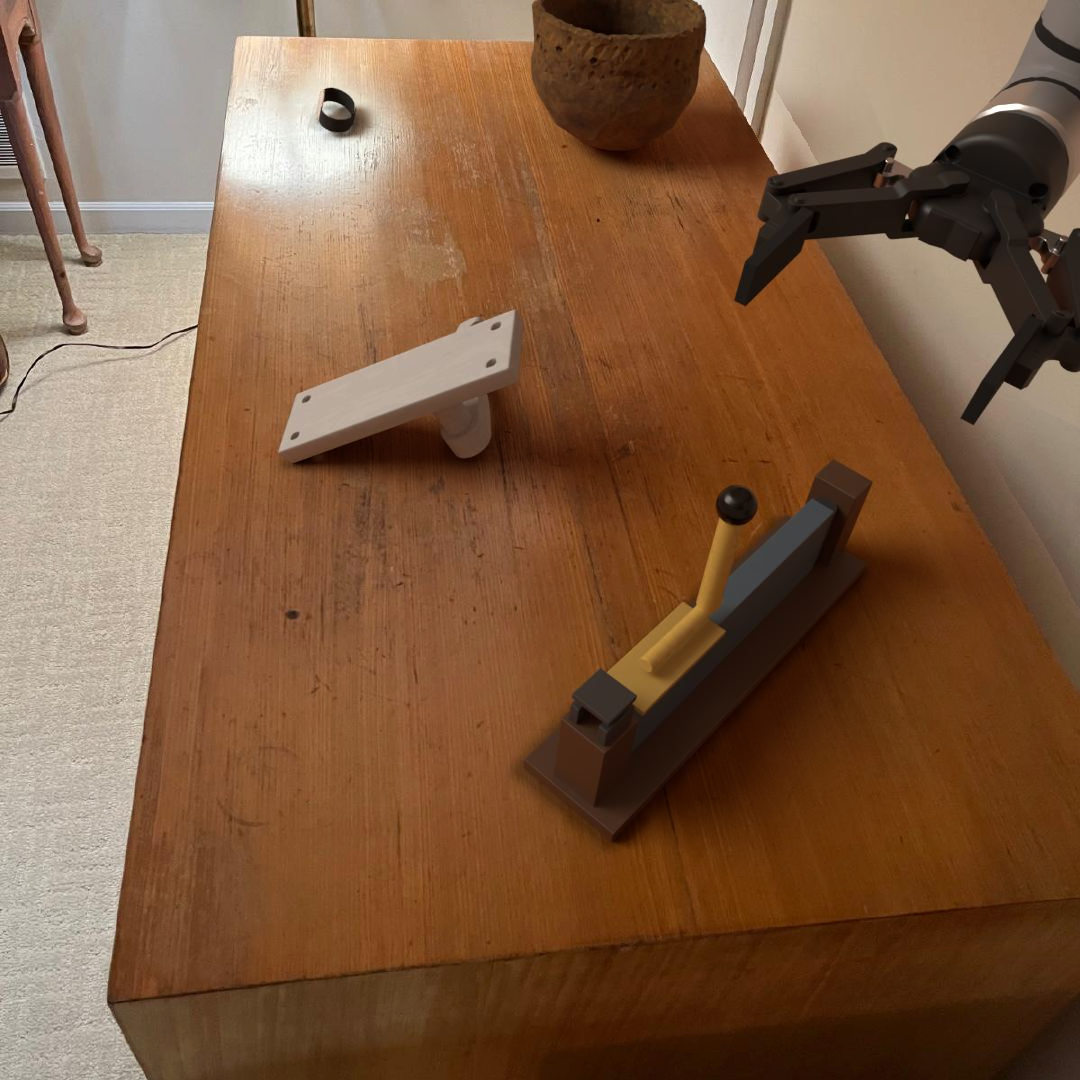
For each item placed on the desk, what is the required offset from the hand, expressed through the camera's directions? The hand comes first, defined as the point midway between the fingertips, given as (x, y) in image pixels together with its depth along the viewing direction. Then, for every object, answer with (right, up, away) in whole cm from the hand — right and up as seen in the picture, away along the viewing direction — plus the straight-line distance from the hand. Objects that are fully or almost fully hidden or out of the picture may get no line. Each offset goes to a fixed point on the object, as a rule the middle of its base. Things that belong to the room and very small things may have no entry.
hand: (856, 341), depth 53 cm
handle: (-27, +1, +31) cm, 41 cm away
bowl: (-9, +36, +65) cm, 75 cm away
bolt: (-8, -16, +6) cm, 19 cm away
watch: (-40, +38, +64) cm, 84 cm away
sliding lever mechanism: (-5, -18, +15) cm, 24 cm away
